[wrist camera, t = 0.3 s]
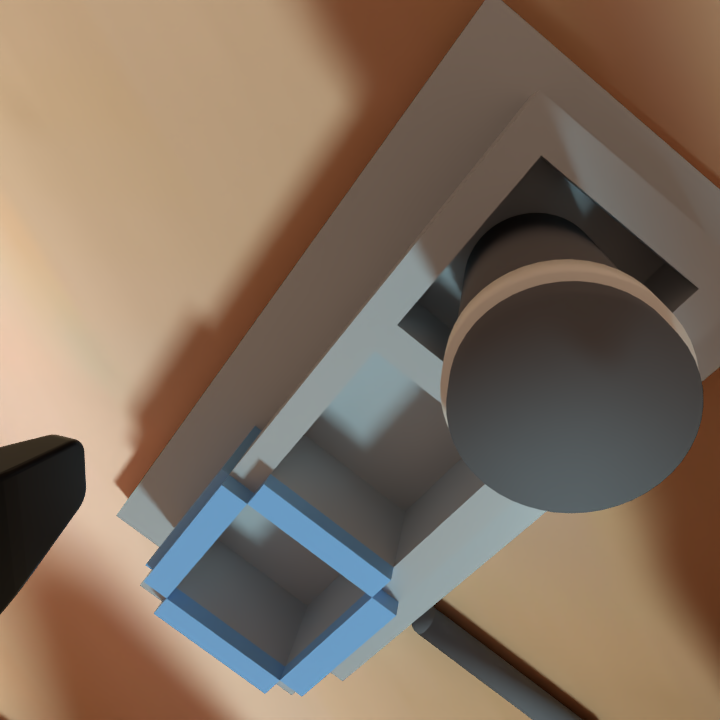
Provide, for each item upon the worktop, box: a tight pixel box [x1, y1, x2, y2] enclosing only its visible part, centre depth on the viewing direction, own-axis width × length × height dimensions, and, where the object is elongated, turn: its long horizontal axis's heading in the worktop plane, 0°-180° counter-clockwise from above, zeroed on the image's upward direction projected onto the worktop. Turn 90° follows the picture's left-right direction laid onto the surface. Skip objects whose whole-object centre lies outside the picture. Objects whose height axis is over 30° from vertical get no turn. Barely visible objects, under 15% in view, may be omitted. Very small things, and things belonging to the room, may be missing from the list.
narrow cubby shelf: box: [116, 0, 720, 696], centre depth 19 cm, size 12×23×5 cm, turn 143°
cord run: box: [412, 606, 583, 720], centre depth 24 cm, size 10×1×1 cm, turn 53°
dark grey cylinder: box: [440, 213, 703, 513], centre depth 14 cm, size 4×4×9 cm
